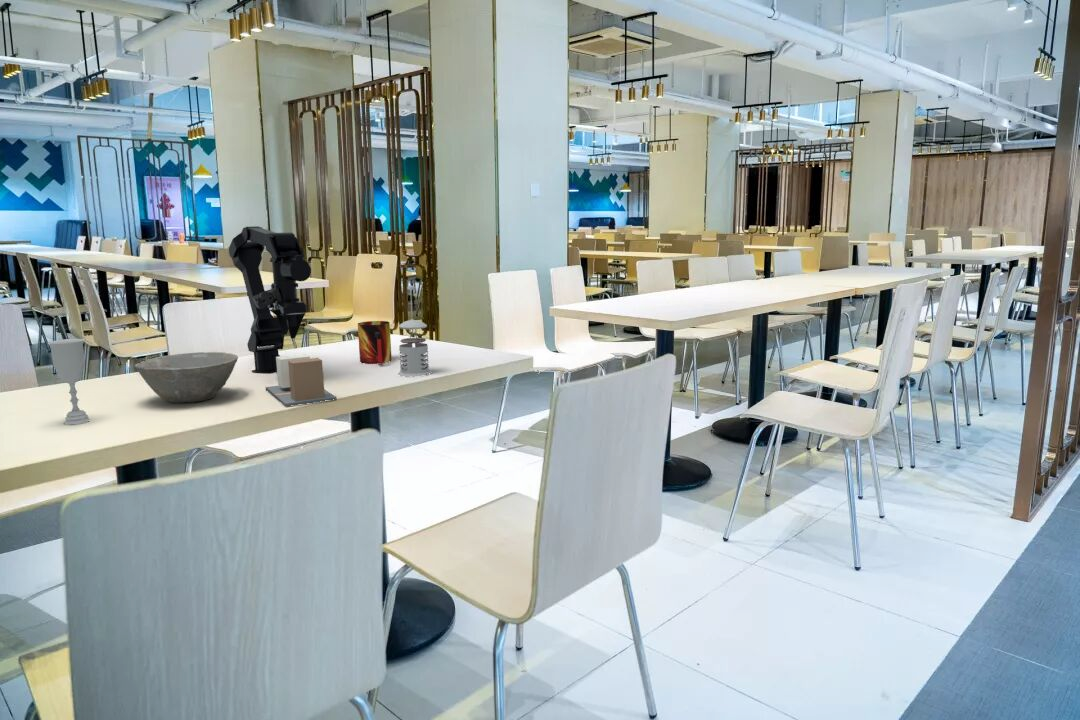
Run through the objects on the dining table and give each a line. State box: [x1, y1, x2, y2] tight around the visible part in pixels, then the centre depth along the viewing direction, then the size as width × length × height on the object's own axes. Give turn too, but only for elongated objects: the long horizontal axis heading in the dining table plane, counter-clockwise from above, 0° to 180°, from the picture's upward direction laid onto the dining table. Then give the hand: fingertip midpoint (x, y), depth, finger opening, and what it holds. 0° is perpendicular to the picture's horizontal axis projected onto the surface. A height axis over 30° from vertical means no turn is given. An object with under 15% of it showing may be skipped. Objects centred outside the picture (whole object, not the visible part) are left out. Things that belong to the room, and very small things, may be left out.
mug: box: [357, 320, 392, 365], centre depth 229 cm, size 10×14×12 cm
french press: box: [397, 285, 432, 378], centre depth 209 cm, size 10×12×25 cm
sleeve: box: [276, 353, 311, 388], centre depth 189 cm, size 5×7×7 cm
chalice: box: [47, 338, 91, 425], centre depth 163 cm, size 7×7×18 cm
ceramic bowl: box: [134, 351, 239, 404], centre depth 183 cm, size 22×23×10 cm
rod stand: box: [265, 357, 337, 407], centre depth 186 cm, size 22×12×10 cm, turn 32°
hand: (288, 336), depth 204 cm, fingers open, 8 cm apart
